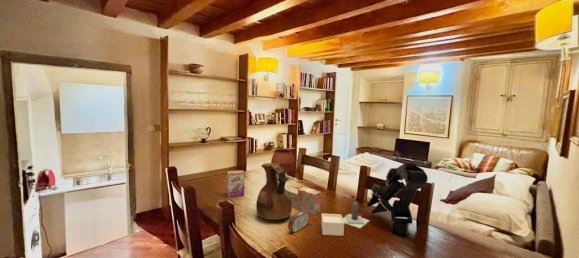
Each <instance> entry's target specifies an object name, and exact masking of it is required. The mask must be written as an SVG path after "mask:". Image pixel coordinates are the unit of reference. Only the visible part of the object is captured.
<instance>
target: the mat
mask: <svg viewBox="0 0 579 258" xmlns="http://www.w3.org/2000/svg"><path fill="white" fill-rule="evenodd" d="M347 215H352V213H348V214H347ZM342 219H343V222H344V225H348V226H351V227H354V228H357V229H362V228H363V227H364V226H365V225H367V224H368V223H370V220H369V219H367V218H363V217H362V220H363V222H364V224H348V222H347V219H346V216H344V217H342Z"/></svg>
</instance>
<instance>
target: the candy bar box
mask: <svg viewBox="0 0 579 258" xmlns="http://www.w3.org/2000/svg"><path fill="white" fill-rule="evenodd" d="M226 175H227V177H226V182H227V183H226V197H227V198H235V197H236V198H237V197H244V196H245V175H246V173H245V171H244V170H233V171H232V170H231V171H227V172H226Z"/></svg>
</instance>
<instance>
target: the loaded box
mask: <svg viewBox="0 0 579 258" xmlns="http://www.w3.org/2000/svg"><path fill="white" fill-rule="evenodd" d="M320 226H321V233H322V235H324V236H325V235H326V236H338V237H339V236H343V237H344V234H345V233H344V232H345V231H344V230H345V223H344V222H343V216H342V214H340V213H339V214H338V213H321V221H320Z"/></svg>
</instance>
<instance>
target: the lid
mask: <svg viewBox="0 0 579 258" xmlns="http://www.w3.org/2000/svg"><path fill="white" fill-rule="evenodd" d="M359 204H360V203H359V202H358V201H352V204H351V205H352V207H351V215H348V214H345V217H346V219H347V222H348V224H364V222H363V220H362V218H363V217H362V215H359ZM348 224H347V225H348Z"/></svg>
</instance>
